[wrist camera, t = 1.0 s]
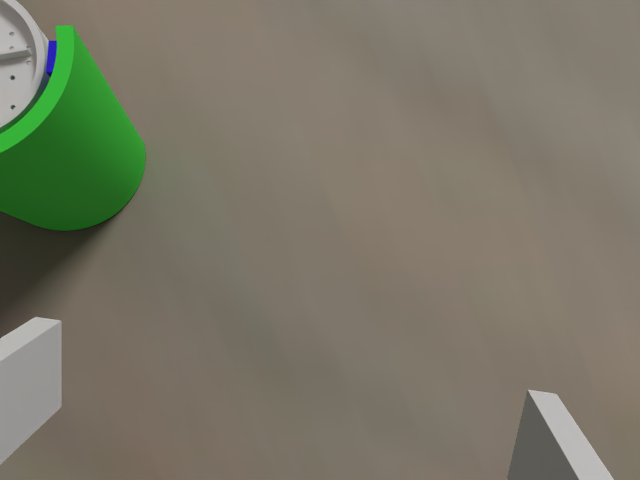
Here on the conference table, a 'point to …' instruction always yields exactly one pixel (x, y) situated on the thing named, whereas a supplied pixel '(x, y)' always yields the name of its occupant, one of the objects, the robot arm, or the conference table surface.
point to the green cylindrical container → (60, 130)
